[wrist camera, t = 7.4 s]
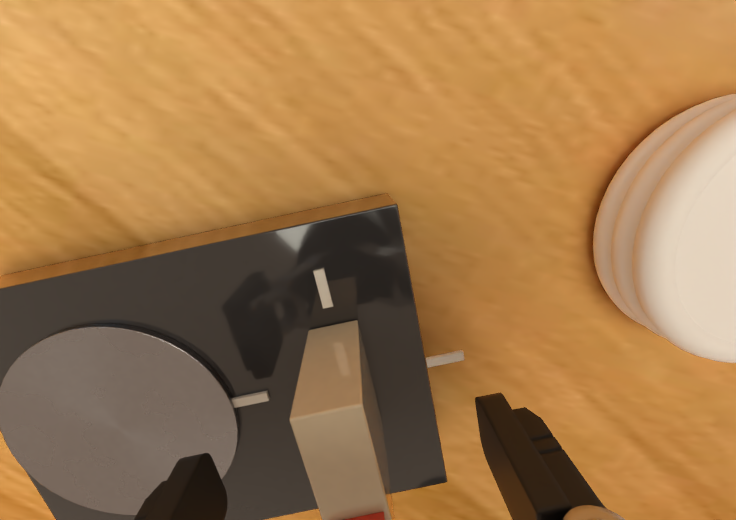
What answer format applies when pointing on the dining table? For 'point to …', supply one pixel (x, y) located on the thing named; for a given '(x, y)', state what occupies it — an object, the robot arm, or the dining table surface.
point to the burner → (113, 413)
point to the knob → (341, 427)
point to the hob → (257, 333)
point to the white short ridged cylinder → (676, 231)
